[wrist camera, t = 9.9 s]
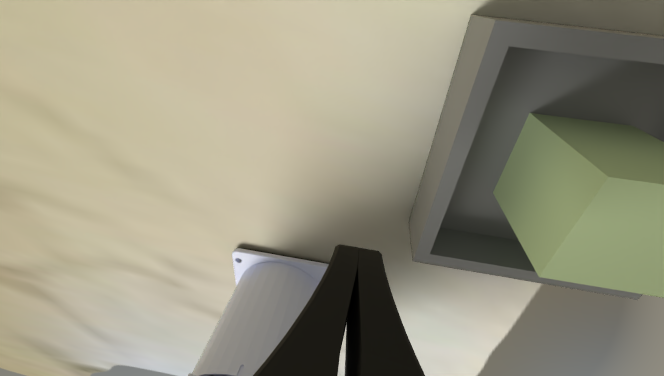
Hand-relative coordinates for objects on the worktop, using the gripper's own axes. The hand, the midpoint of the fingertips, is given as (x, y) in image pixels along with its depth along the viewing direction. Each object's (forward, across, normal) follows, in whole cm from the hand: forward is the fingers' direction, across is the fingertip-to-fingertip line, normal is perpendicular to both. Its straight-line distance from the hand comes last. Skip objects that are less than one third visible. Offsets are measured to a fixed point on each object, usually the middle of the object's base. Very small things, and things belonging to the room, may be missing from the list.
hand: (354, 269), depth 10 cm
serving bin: (+9, -10, -1) cm, 13 cm away
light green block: (+8, -10, -1) cm, 13 cm away
